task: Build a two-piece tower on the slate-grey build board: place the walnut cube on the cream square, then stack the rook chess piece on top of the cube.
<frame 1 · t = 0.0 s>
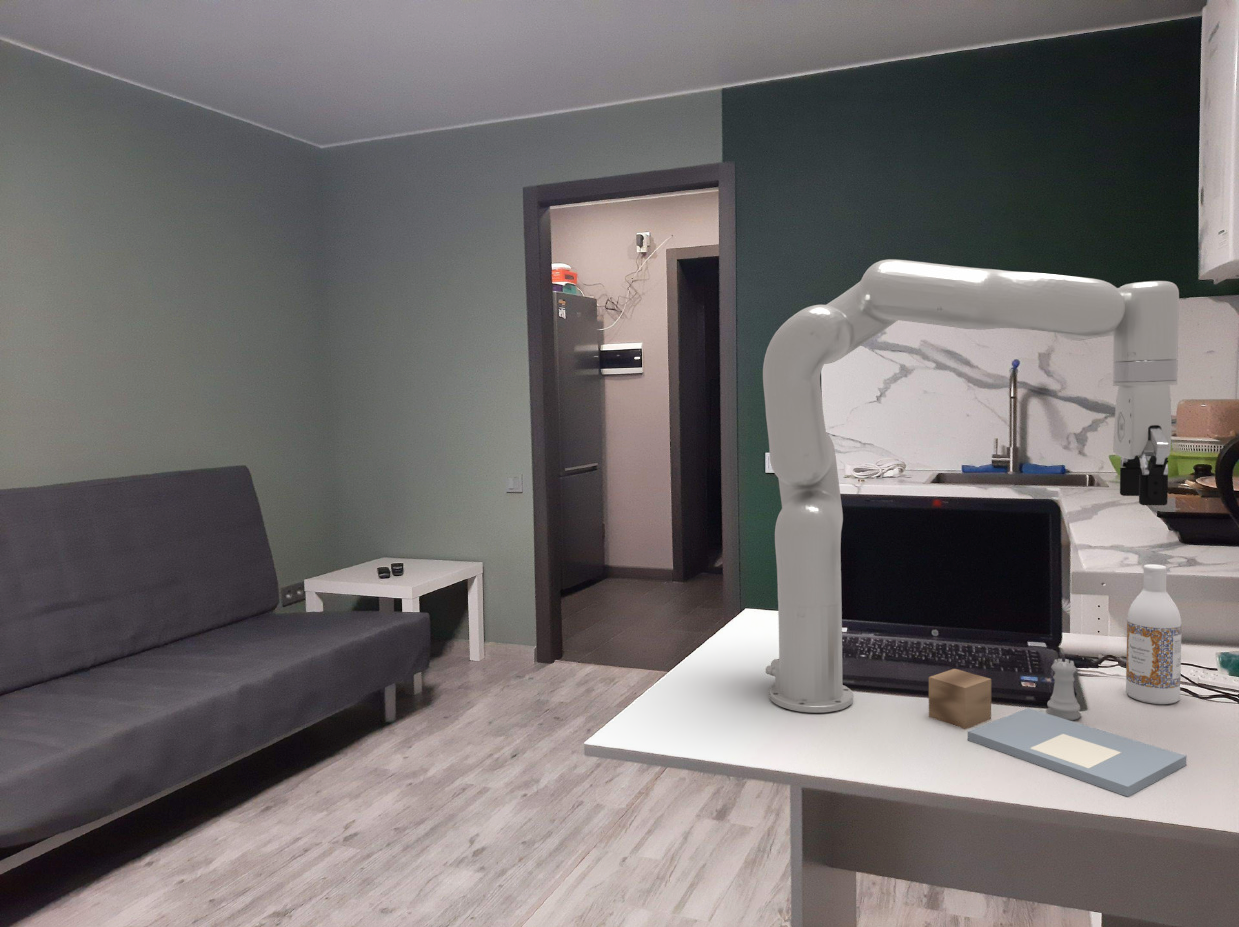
hand: (1142, 500, 122), 31 cm above the table, tool pointing down, fingers open, 9 cm apart
walnut cube: (959, 718, 128), on the table
rook chess piece: (1063, 717, 127), on the table
build board: (1072, 751, 115), on the table
bath foam: (1152, 698, 133), on the table
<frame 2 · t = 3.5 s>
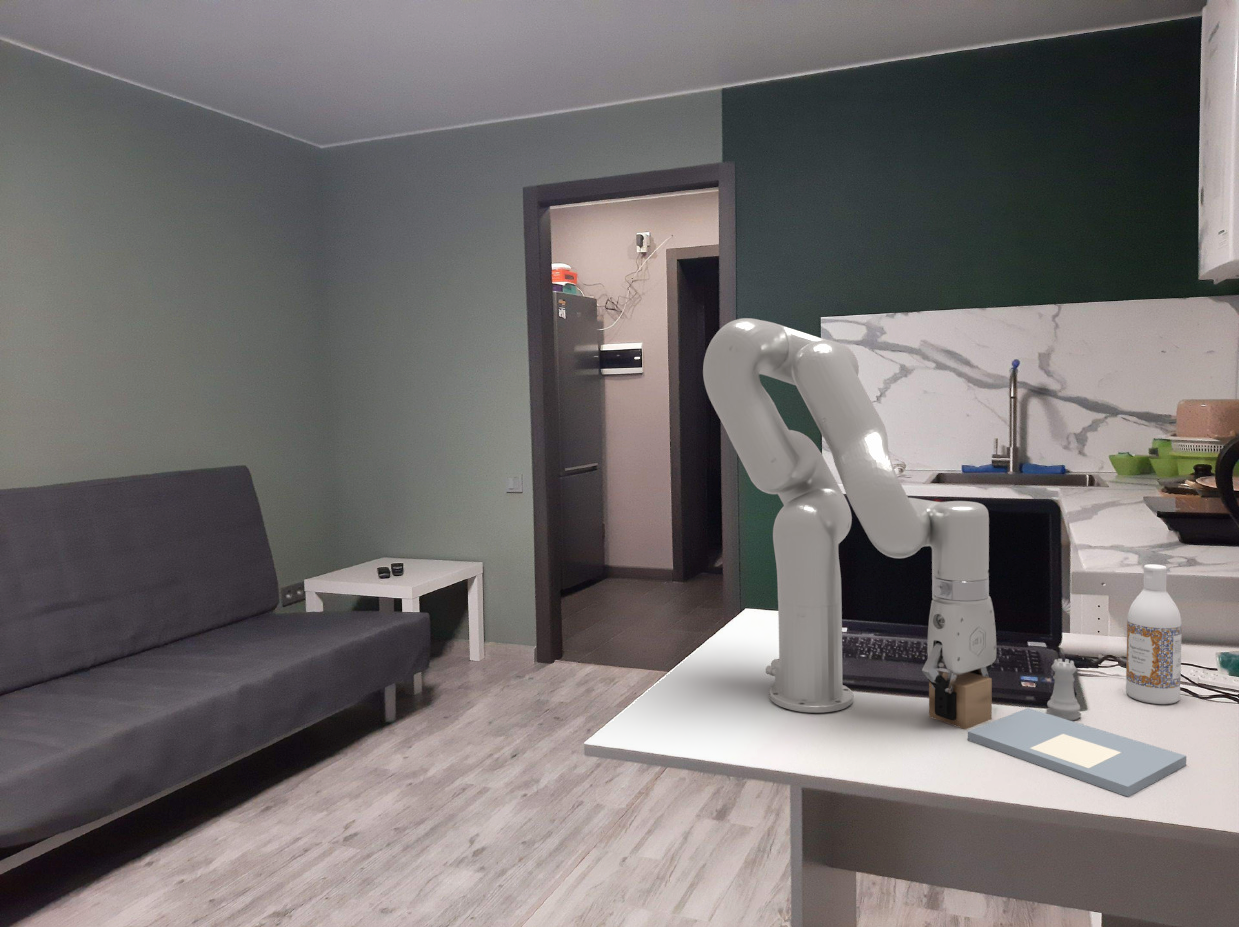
hand: (960, 710, 127), 1 cm above the table, tool pointing down, fingers closed on walnut cube, 6 cm apart
walnut cube: (960, 717, 128), on the table, touching gripper
everything else where it was.
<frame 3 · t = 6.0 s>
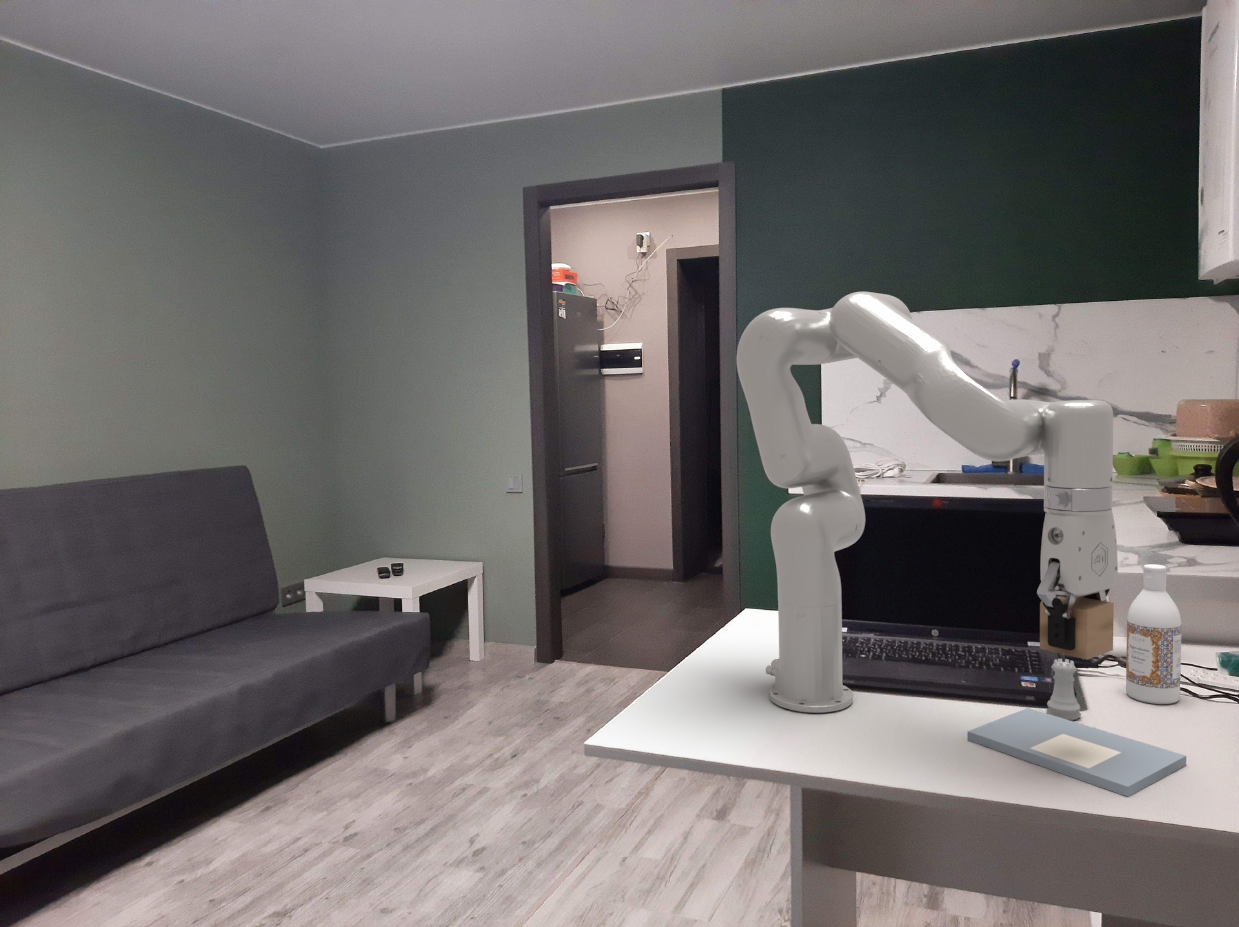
hand: (1076, 641, 111), 15 cm above the table, tool pointing down, fingers closed on walnut cube, 6 cm apart
walnut cube: (1076, 649, 111), point 14 cm above the table, touching gripper
everything else where it was.
when the fingers open (3 cm above the table, at t = 8.6 s): walnut cube drops 1 cm, resting on build board.
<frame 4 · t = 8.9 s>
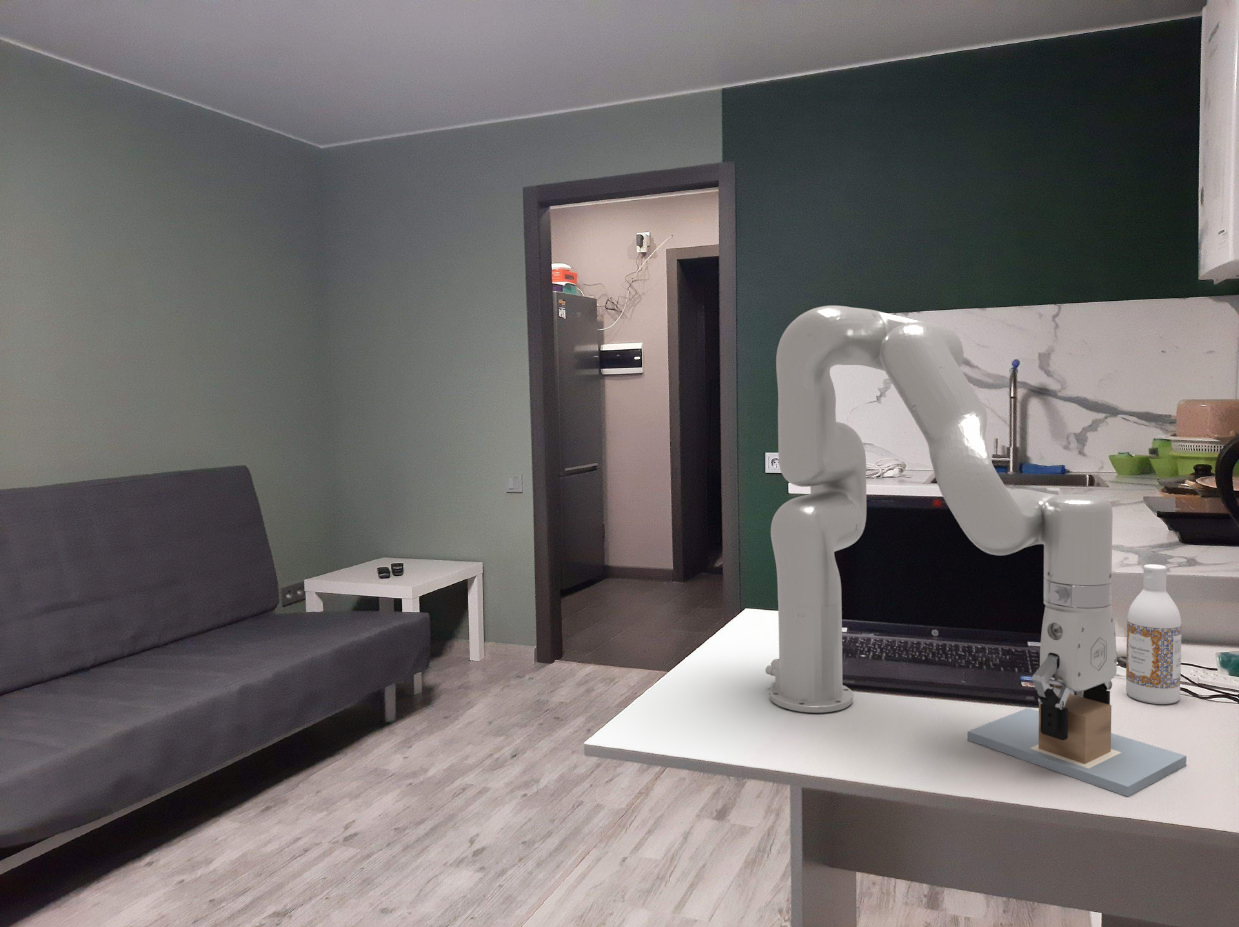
hand: (1075, 727, 112), 4 cm above the table, tool pointing down, fingers open, 9 cm apart
walnut cube: (1074, 749, 112), point 1 cm above the table, touching build board
everything else where it was.
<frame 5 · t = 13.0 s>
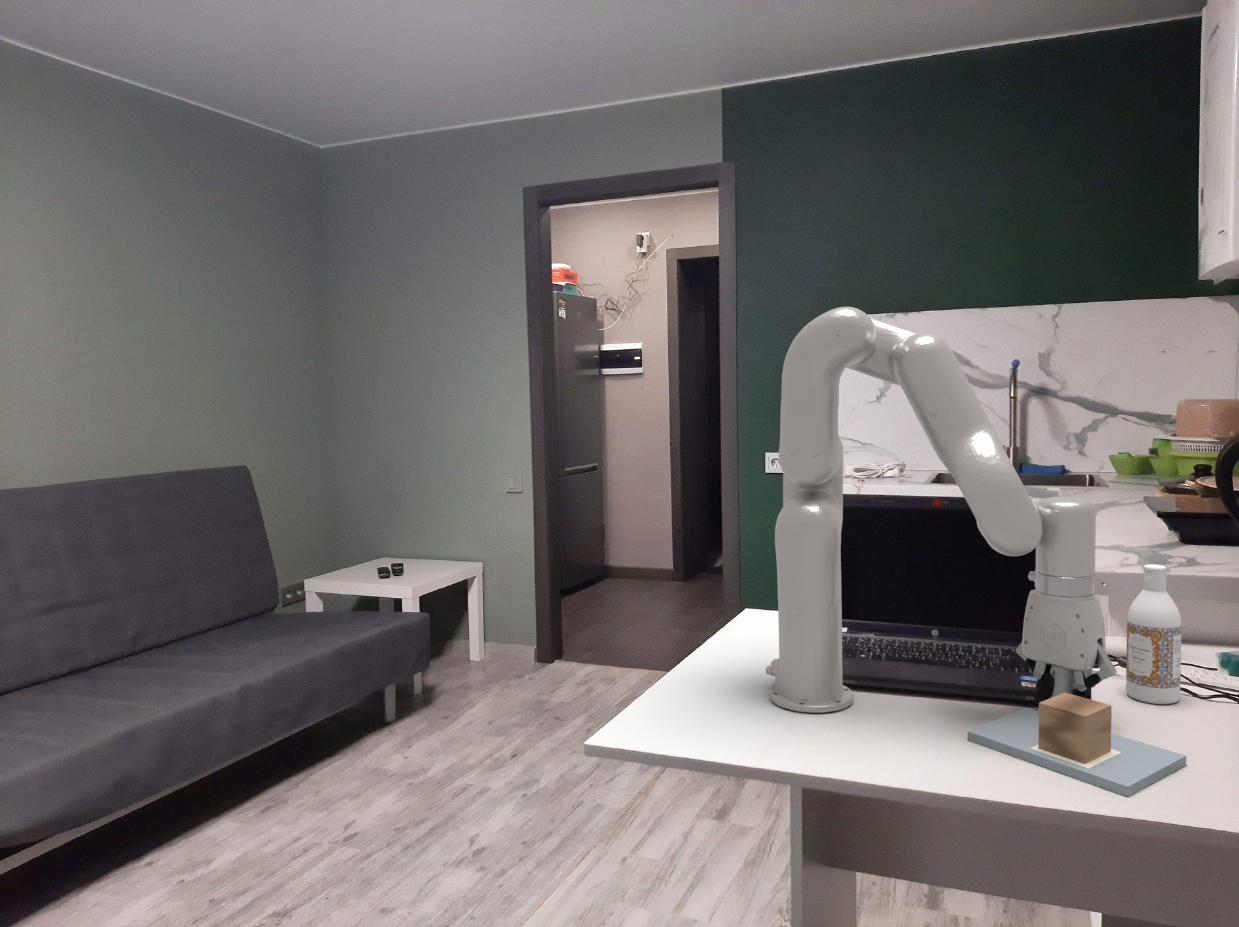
hand: (1063, 708, 127), 1 cm above the table, tool pointing down, fingers closed on rook chess piece, 4 cm apart
rook chess piece: (1063, 716, 127), on the table, touching gripper
everything else where it was.
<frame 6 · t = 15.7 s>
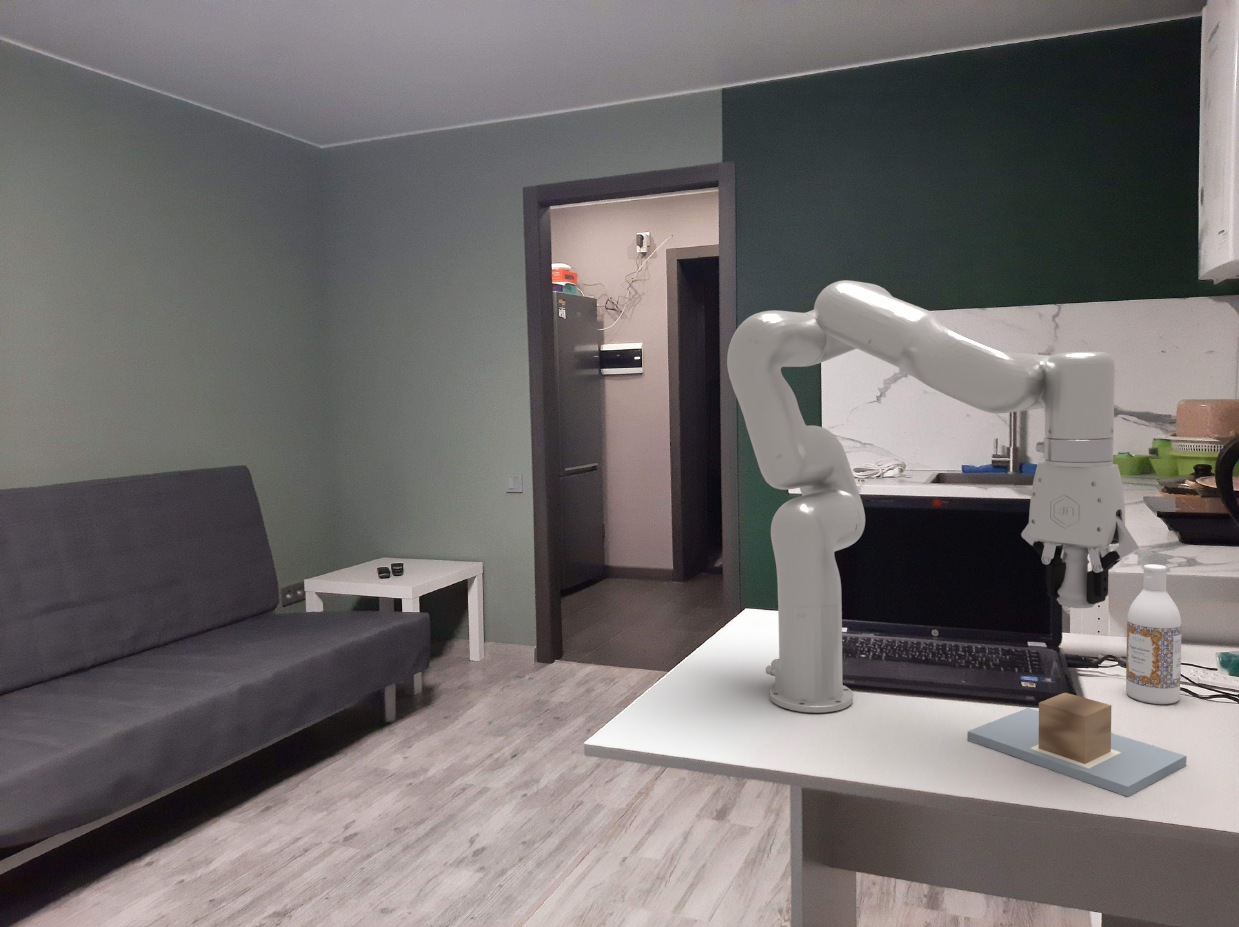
hand: (1076, 596, 111), 21 cm above the table, tool pointing down, fingers closed on rook chess piece, 4 cm apart
rook chess piece: (1076, 606, 111), point 20 cm above the table, touching gripper
everything else where it was.
when the fingers open (9 cm above the table, at t = 18.7 s): rook chess piece drops 1 cm, resting on walnut cube.
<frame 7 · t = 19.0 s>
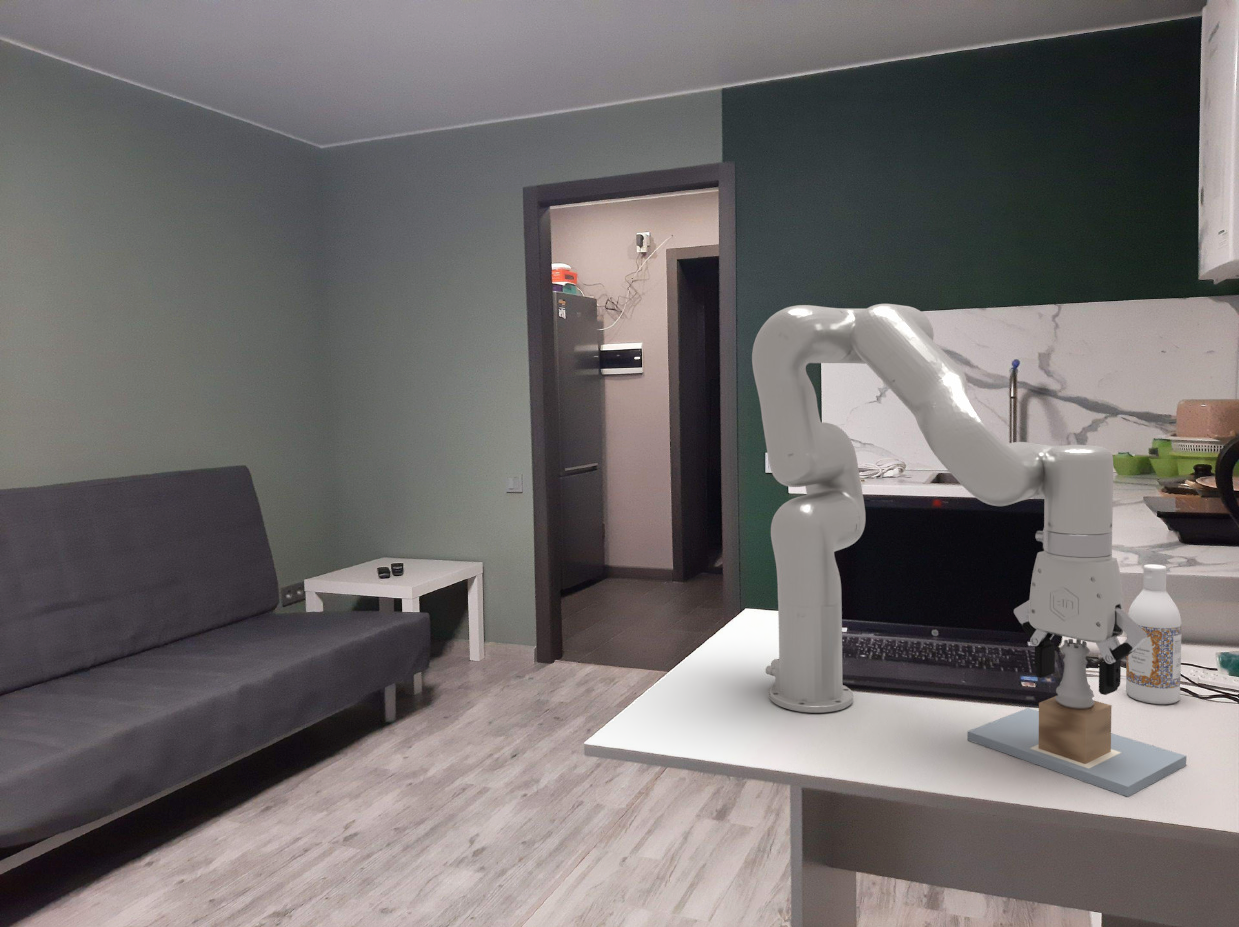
hand: (1075, 682, 112), 10 cm above the table, tool pointing down, fingers open, 7 cm apart
walnut cube: (1074, 749, 112), point 1 cm above the table, touching build board, rook chess piece
rook chess piece: (1074, 705, 112), point 7 cm above the table, touching walnut cube
everything else where it was.
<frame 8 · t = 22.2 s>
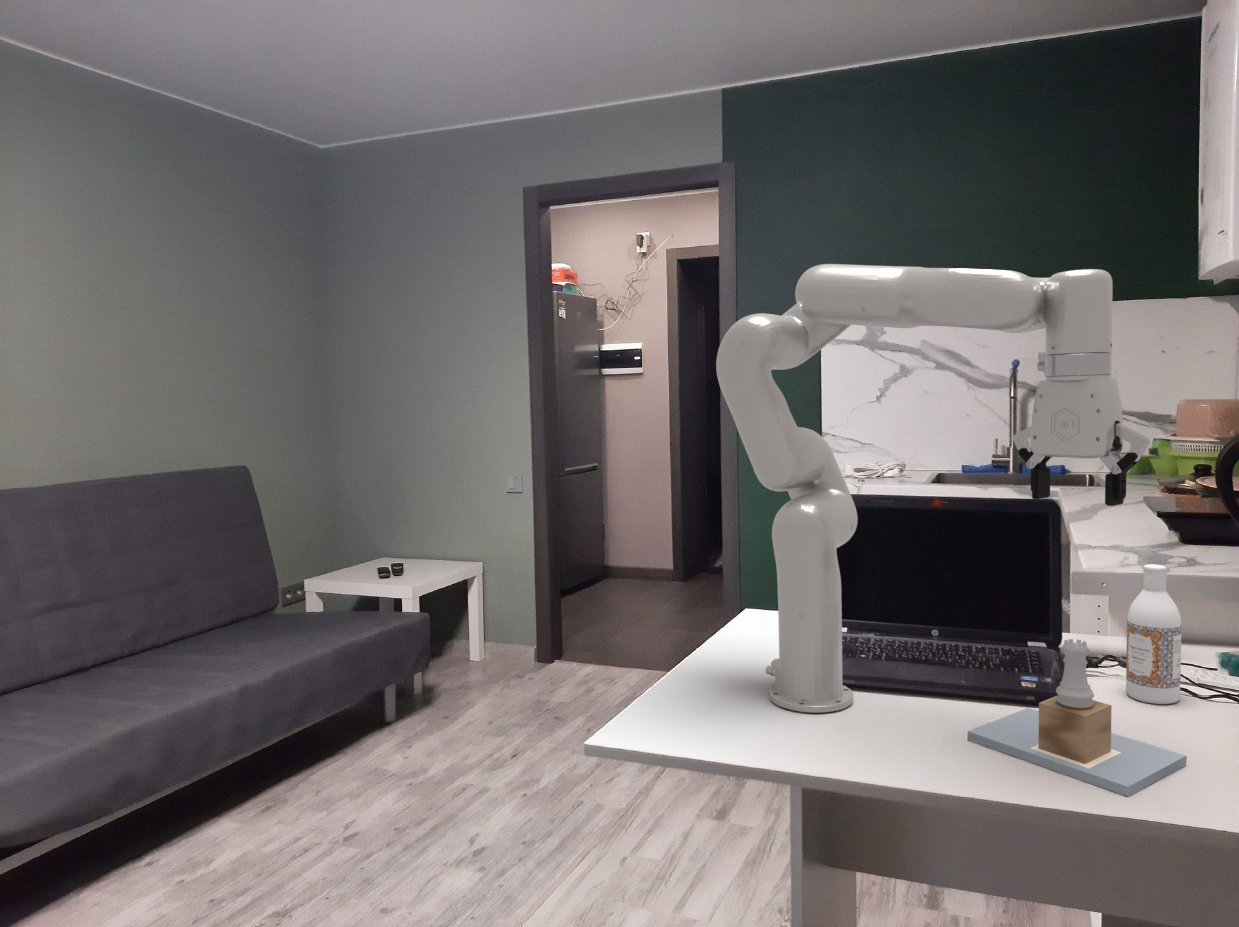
hand: (1076, 501, 115), 32 cm above the table, tool pointing down, fingers open, 9 cm apart
nothing on the table moved.
at the end: walnut cube inside the target area on the build board (0.1 cm from its centre), point 1.2 cm above the build board's base; rook chess piece 0.0 cm off-centre on the walnut cube, point 5.8 cm above the walnut cube's base; rook chess piece tilted 0° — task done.
